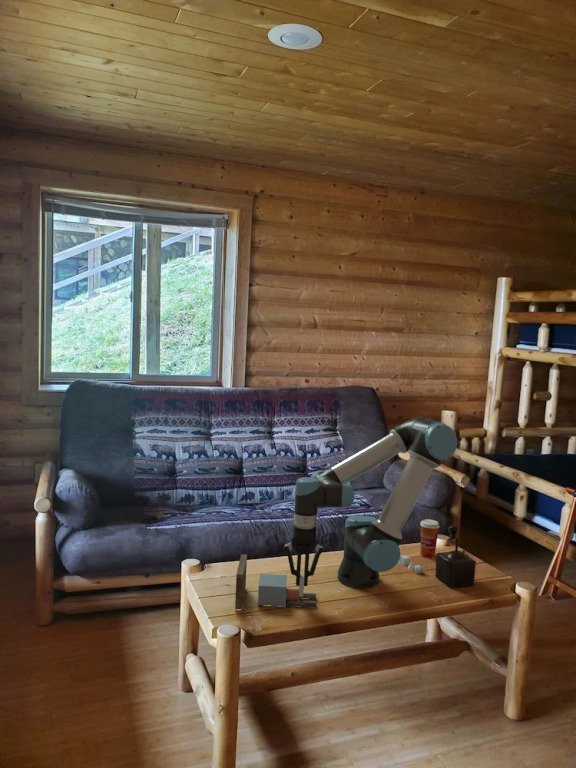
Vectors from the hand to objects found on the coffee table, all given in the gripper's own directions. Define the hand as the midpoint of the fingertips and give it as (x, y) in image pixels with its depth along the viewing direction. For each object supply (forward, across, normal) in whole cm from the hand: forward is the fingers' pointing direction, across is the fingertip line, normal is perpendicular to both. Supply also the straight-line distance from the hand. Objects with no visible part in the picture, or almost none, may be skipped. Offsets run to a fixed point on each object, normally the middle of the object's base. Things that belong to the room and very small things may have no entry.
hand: (301, 594), depth 194 cm
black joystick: (+2, +56, +25) cm, 62 cm away
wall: (+3, -20, 0) cm, 20 cm away
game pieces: (+3, +43, +32) cm, 54 cm away
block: (+3, -9, 0) cm, 10 cm away
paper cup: (+2, +52, +46) cm, 70 cm away
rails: (+3, 0, 0) cm, 3 cm away
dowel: (+3, -6, 0) cm, 6 cm away
